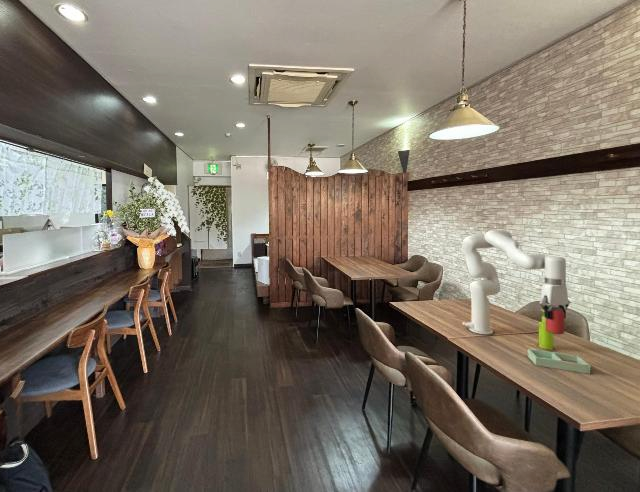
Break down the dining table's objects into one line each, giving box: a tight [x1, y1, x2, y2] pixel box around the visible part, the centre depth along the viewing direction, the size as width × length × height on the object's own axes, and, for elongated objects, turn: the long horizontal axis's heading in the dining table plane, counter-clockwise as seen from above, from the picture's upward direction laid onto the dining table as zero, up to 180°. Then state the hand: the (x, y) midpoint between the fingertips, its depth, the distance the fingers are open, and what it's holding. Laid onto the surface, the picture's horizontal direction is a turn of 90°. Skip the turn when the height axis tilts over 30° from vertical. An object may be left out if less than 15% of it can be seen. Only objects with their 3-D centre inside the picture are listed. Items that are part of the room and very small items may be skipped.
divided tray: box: [527, 348, 591, 375], centre depth 138 cm, size 19×10×4 cm, turn 66°
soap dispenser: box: [538, 309, 554, 351], centre depth 156 cm, size 6×7×20 cm
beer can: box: [546, 306, 565, 335], centre depth 140 cm, size 7×7×12 cm
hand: (554, 317), depth 140 cm, fingers closed on beer can, 6 cm apart
